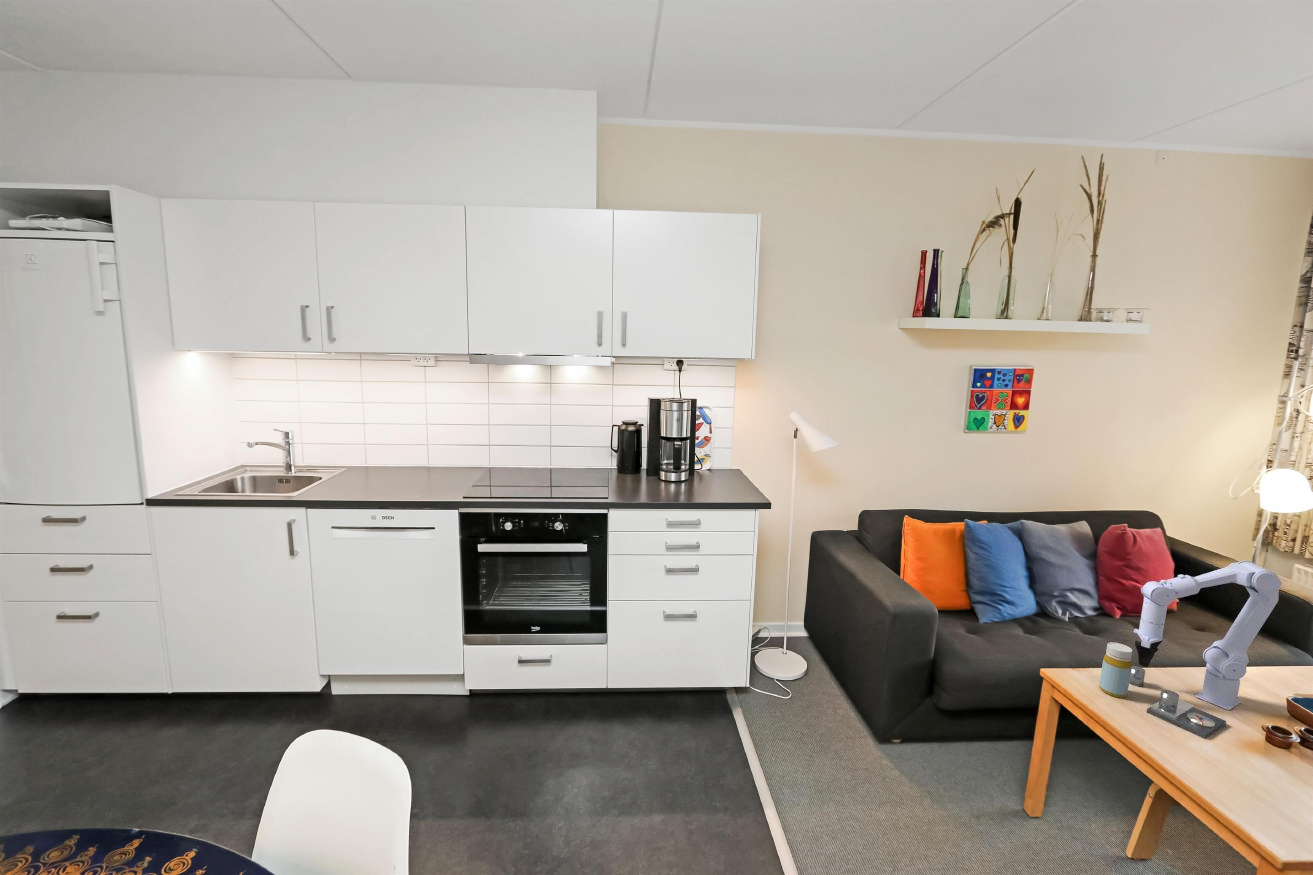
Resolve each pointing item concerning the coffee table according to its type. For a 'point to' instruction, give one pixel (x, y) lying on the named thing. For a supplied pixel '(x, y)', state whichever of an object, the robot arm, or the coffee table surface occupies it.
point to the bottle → (1116, 670)
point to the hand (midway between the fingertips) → (1145, 661)
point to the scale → (1189, 719)
